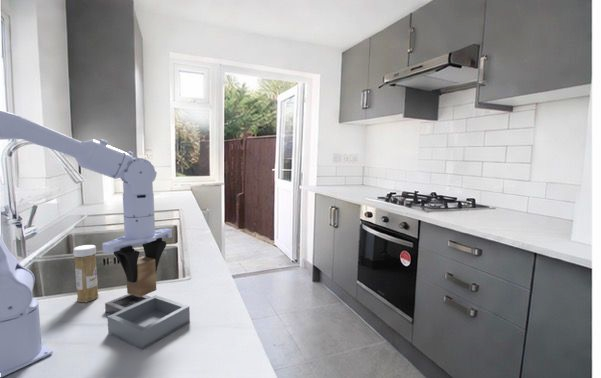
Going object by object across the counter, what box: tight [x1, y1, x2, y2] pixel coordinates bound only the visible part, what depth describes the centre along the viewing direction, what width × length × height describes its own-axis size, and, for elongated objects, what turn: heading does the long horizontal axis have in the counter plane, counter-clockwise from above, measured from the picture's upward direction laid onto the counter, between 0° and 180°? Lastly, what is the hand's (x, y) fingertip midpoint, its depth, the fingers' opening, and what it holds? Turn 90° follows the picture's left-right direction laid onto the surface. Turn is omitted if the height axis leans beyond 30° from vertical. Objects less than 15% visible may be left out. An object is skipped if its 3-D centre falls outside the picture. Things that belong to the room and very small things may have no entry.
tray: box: [107, 294, 191, 350], centre depth 64 cm, size 11×11×4 cm
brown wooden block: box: [126, 255, 157, 297], centre depth 66 cm, size 4×4×7 cm
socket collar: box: [104, 293, 152, 315], centre depth 72 cm, size 7×7×2 cm
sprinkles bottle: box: [72, 244, 100, 303], centre depth 76 cm, size 5×5×13 cm
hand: (142, 277), depth 65 cm, fingers closed on brown wooden block, 4 cm apart
